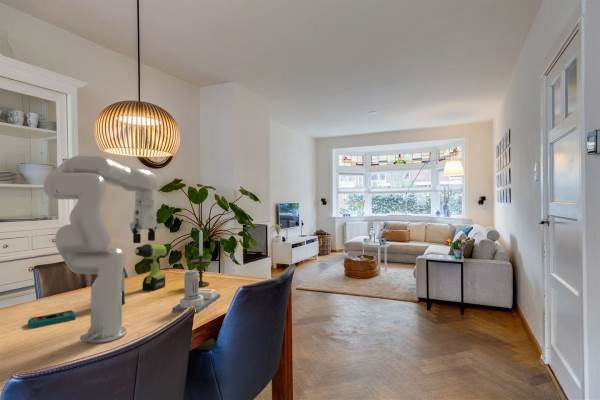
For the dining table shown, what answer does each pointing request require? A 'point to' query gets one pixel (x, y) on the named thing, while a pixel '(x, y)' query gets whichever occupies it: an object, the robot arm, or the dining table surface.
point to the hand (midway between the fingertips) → (144, 241)
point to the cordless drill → (152, 265)
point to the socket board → (206, 302)
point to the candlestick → (201, 260)
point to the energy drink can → (191, 285)
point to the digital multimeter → (51, 319)
